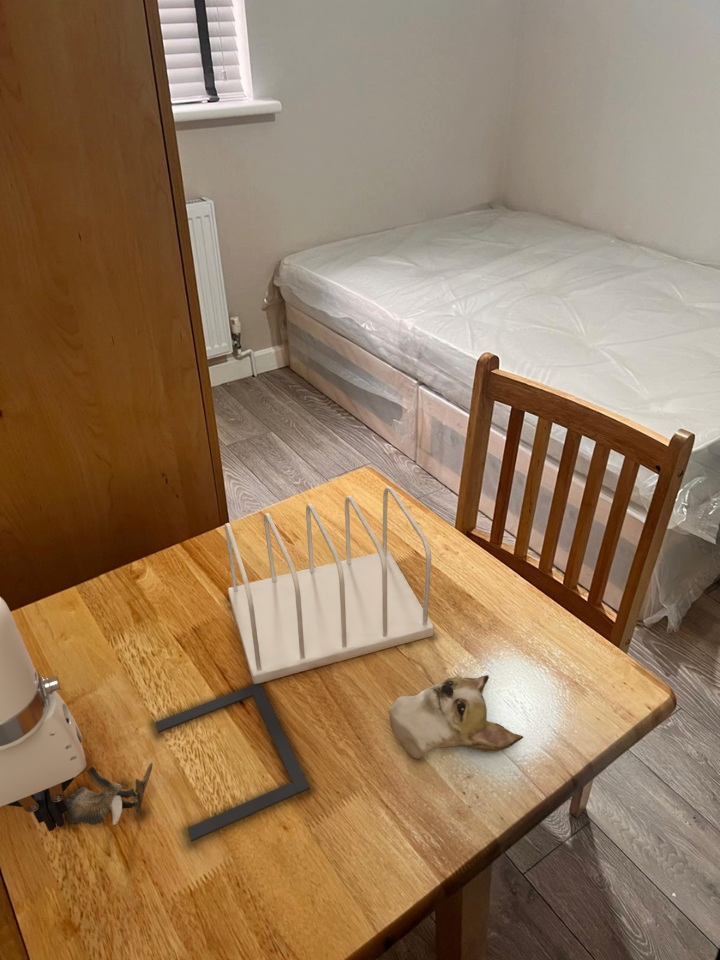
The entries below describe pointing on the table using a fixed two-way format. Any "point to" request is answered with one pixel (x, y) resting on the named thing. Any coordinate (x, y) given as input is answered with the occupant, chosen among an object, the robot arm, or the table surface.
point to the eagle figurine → (105, 799)
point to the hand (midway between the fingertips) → (55, 816)
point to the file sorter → (326, 603)
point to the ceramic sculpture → (448, 719)
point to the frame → (279, 740)
